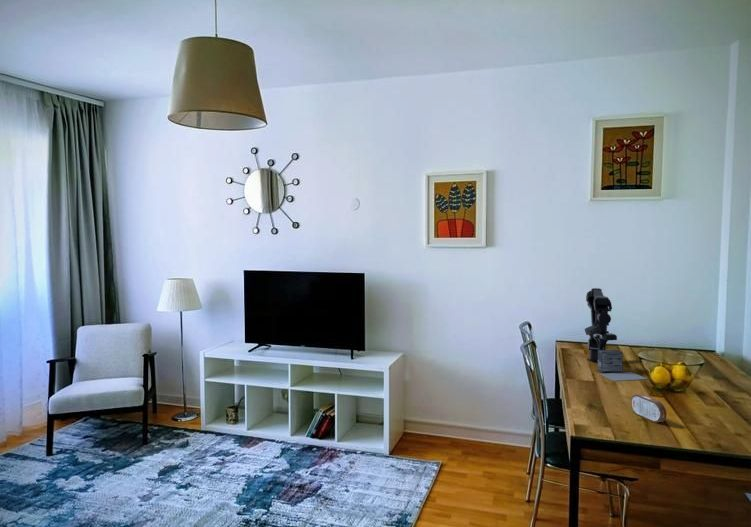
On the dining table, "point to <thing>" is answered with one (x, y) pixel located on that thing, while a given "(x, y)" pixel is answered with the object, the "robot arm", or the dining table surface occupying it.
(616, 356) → the small box
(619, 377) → the mat
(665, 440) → the dining table surface
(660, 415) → the tin
